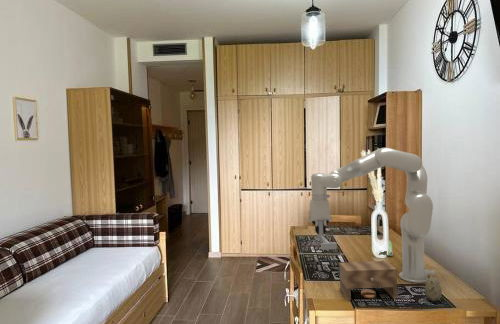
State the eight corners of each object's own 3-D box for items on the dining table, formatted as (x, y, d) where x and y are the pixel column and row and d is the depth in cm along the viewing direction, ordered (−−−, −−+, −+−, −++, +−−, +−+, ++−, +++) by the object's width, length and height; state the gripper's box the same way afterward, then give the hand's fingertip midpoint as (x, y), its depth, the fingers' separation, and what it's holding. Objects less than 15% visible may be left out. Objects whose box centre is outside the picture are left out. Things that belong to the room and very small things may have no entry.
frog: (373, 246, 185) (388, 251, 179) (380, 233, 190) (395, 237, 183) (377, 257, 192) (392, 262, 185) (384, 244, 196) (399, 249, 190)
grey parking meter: (326, 238, 164) (325, 215, 164) (336, 249, 145) (336, 223, 145) (312, 238, 164) (312, 216, 164) (321, 249, 145) (320, 223, 145)
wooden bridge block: (386, 288, 143) (386, 260, 142) (398, 299, 132) (397, 269, 131) (340, 290, 142) (339, 262, 142) (347, 301, 132) (347, 271, 131)
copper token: (372, 292, 140) (372, 288, 140) (378, 298, 134) (378, 294, 134) (359, 292, 140) (358, 289, 140) (364, 299, 134) (364, 295, 134)
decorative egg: (435, 296, 133) (435, 273, 132) (445, 303, 127) (444, 279, 127) (422, 297, 133) (421, 274, 132) (430, 304, 127) (430, 279, 126)
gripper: (333, 195, 165) (334, 230, 166) (302, 197, 165) (303, 232, 165) (337, 198, 157) (338, 234, 158) (305, 199, 157) (306, 236, 158)
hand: (320, 233), depth 162 cm, fingers closed on grey parking meter
